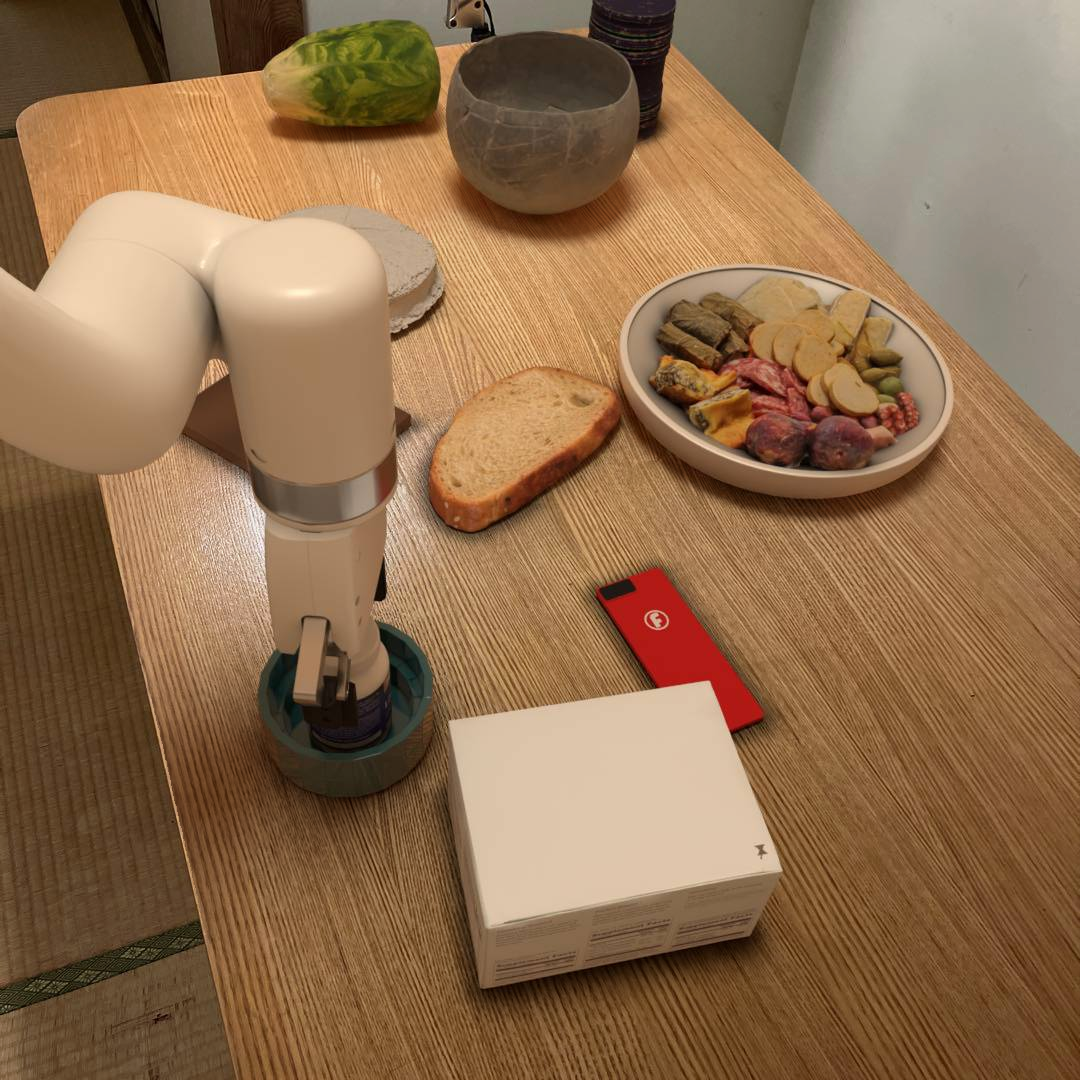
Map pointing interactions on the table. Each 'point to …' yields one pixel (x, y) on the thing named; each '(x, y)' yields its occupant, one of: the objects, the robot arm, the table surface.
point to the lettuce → (356, 76)
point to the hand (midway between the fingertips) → (348, 655)
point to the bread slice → (517, 443)
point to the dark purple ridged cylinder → (638, 46)
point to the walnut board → (233, 422)
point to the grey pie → (391, 257)
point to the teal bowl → (363, 767)
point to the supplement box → (604, 832)
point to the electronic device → (675, 642)
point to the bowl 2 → (783, 380)
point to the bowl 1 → (542, 119)
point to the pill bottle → (362, 698)
